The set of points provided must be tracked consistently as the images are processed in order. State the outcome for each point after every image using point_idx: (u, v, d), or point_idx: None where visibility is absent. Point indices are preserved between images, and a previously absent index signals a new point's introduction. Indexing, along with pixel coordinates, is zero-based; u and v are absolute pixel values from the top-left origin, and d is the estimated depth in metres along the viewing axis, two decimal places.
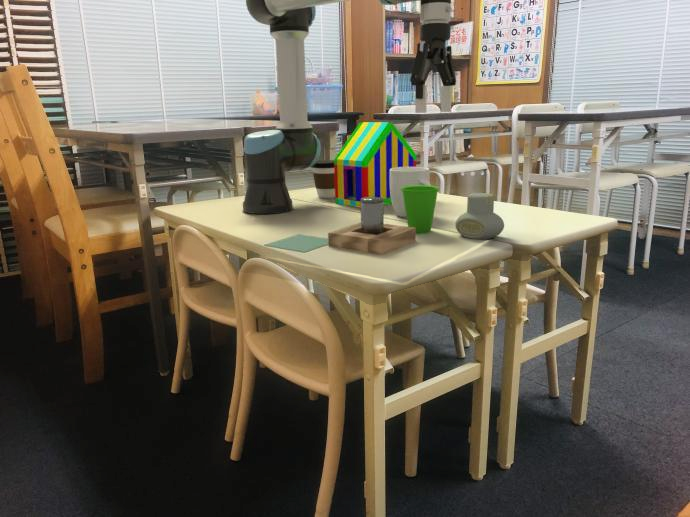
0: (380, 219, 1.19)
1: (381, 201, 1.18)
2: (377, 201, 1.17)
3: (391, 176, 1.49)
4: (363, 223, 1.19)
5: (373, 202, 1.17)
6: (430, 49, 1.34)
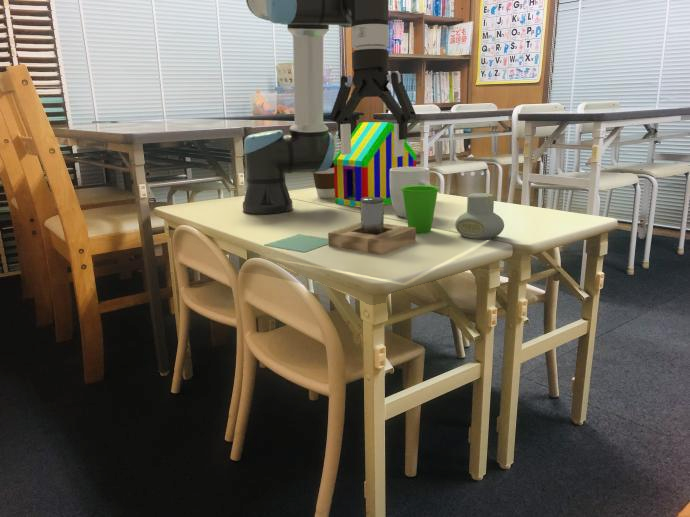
0: (380, 219, 1.19)
1: (381, 201, 1.18)
2: (377, 201, 1.17)
3: (391, 176, 1.49)
4: (363, 223, 1.19)
5: (373, 202, 1.17)
6: (352, 82, 1.14)
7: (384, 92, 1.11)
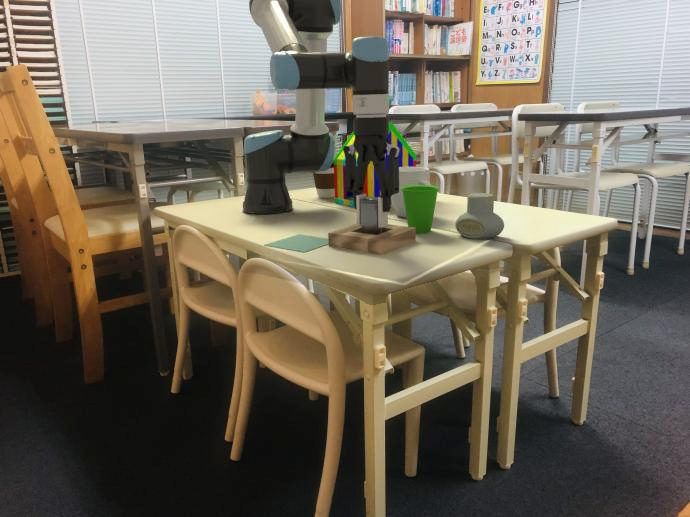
0: None
1: None
2: (377, 201, 1.17)
3: None
4: (363, 223, 1.19)
5: (373, 202, 1.17)
6: (355, 148, 1.18)
7: (379, 162, 1.15)
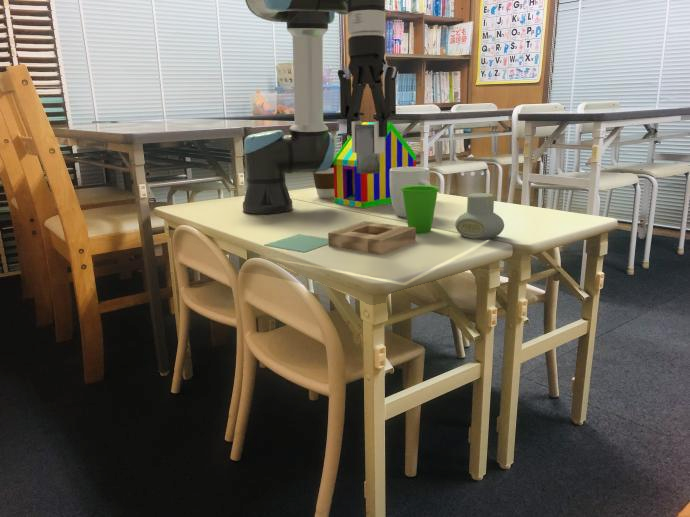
0: None
1: None
2: (373, 126, 1.13)
3: (391, 176, 1.49)
4: (359, 150, 1.15)
5: (369, 127, 1.13)
6: (350, 71, 1.14)
7: (375, 84, 1.11)
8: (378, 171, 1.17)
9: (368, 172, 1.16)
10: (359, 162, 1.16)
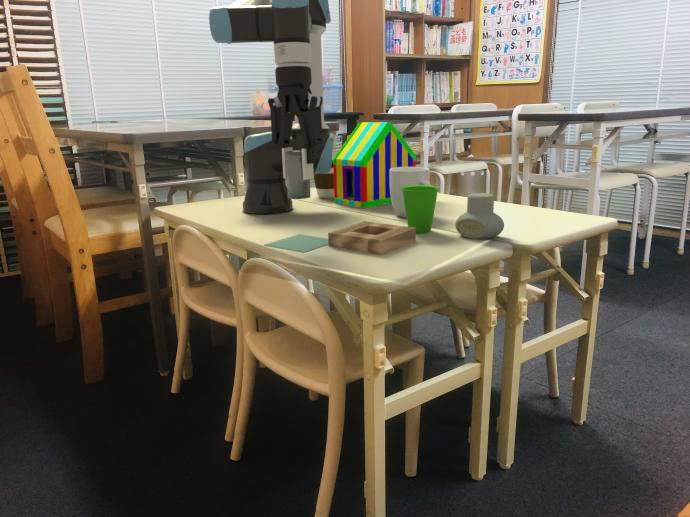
0: None
1: None
2: (301, 153, 1.16)
3: (391, 176, 1.49)
4: (288, 176, 1.18)
5: (297, 154, 1.16)
6: (279, 99, 1.17)
7: (302, 113, 1.14)
8: (308, 196, 1.20)
9: (297, 197, 1.19)
10: (289, 188, 1.19)
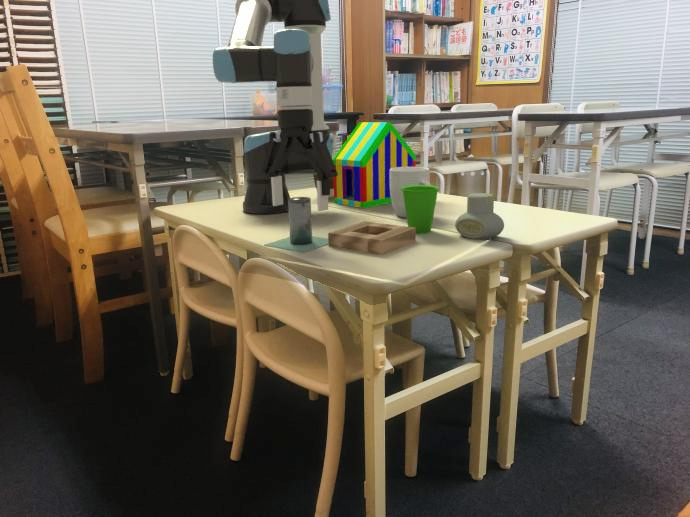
0: (307, 219, 1.21)
1: (307, 201, 1.20)
2: (303, 201, 1.19)
3: (391, 176, 1.49)
4: (291, 223, 1.21)
5: (299, 202, 1.19)
6: (280, 138, 1.20)
7: (308, 150, 1.16)
8: (310, 242, 1.23)
9: (300, 243, 1.22)
10: (291, 234, 1.22)
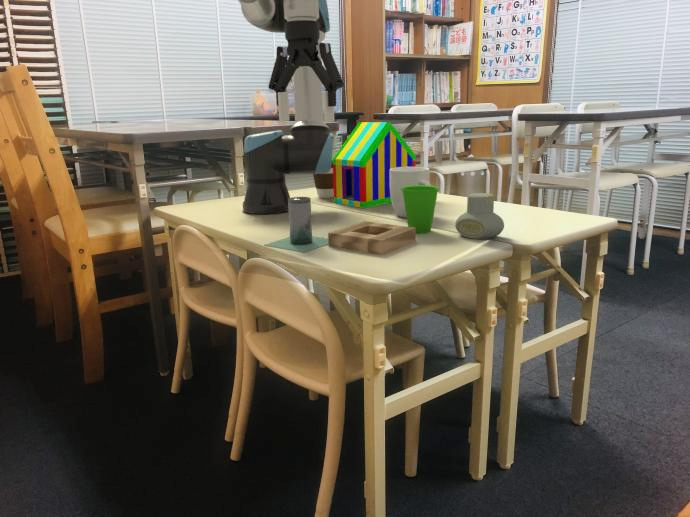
0: (306, 219, 1.21)
1: (307, 201, 1.20)
2: (303, 201, 1.19)
3: (391, 176, 1.49)
4: (291, 223, 1.21)
5: (299, 202, 1.19)
6: (287, 52, 1.22)
7: (314, 61, 1.18)
8: (310, 242, 1.23)
9: (300, 243, 1.22)
10: (291, 234, 1.22)
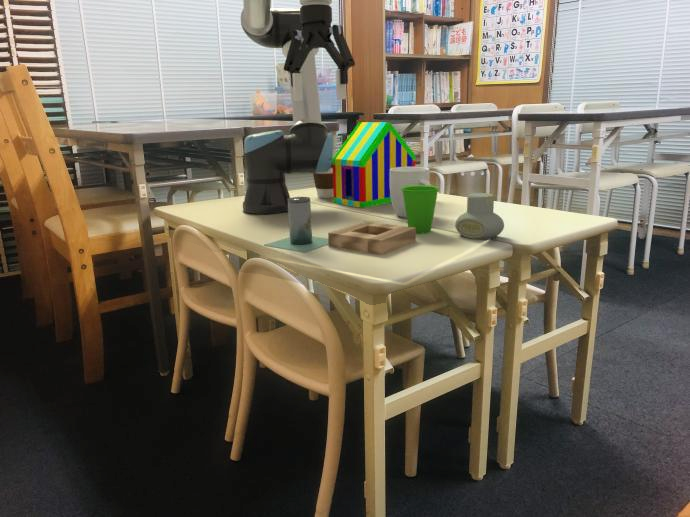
0: (306, 218, 1.21)
1: (307, 201, 1.20)
2: (302, 201, 1.19)
3: (391, 176, 1.49)
4: (290, 223, 1.21)
5: (298, 202, 1.19)
6: (301, 35, 1.32)
7: (327, 43, 1.28)
8: (310, 242, 1.23)
9: (299, 243, 1.22)
10: (291, 234, 1.22)
